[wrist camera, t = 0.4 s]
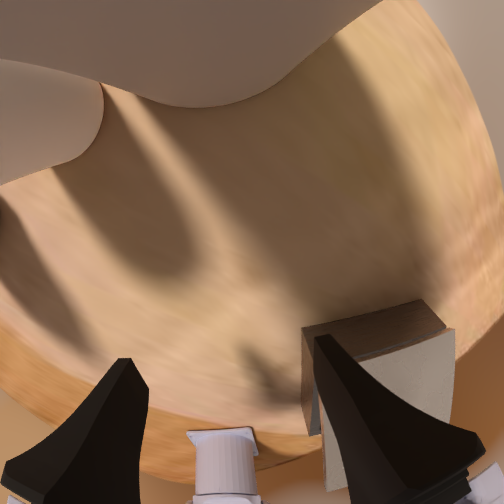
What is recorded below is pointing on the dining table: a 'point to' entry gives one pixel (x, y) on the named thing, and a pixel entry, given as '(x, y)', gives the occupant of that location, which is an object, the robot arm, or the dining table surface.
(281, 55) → the cylinder vase
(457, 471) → the robot arm
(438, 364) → the lid
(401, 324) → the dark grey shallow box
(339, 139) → the dining table surface
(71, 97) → the can
